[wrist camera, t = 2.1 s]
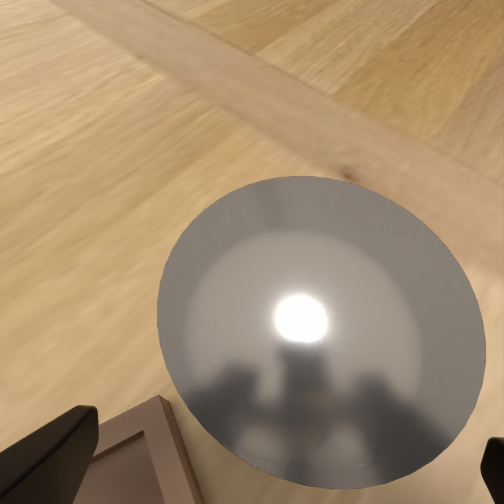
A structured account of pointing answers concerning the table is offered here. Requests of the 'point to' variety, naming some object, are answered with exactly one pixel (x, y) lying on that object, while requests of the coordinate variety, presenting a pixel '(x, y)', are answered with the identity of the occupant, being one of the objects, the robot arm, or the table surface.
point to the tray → (140, 460)
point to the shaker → (321, 332)
